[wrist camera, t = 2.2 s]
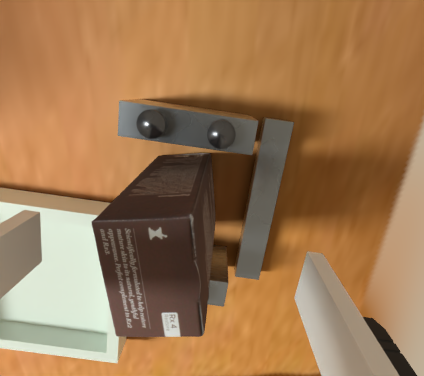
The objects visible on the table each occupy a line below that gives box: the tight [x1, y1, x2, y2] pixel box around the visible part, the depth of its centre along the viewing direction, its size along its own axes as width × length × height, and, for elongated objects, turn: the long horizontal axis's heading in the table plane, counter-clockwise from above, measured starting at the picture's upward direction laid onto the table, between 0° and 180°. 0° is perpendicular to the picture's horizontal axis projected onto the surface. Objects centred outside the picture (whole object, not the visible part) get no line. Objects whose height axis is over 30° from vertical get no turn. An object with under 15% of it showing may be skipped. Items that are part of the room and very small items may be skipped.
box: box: [92, 153, 215, 337], centre depth 18 cm, size 6×4×12 cm
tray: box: [0, 187, 126, 363], centre depth 25 cm, size 14×14×3 cm
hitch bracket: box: [118, 99, 294, 306], centre depth 21 cm, size 11×13×6 cm
